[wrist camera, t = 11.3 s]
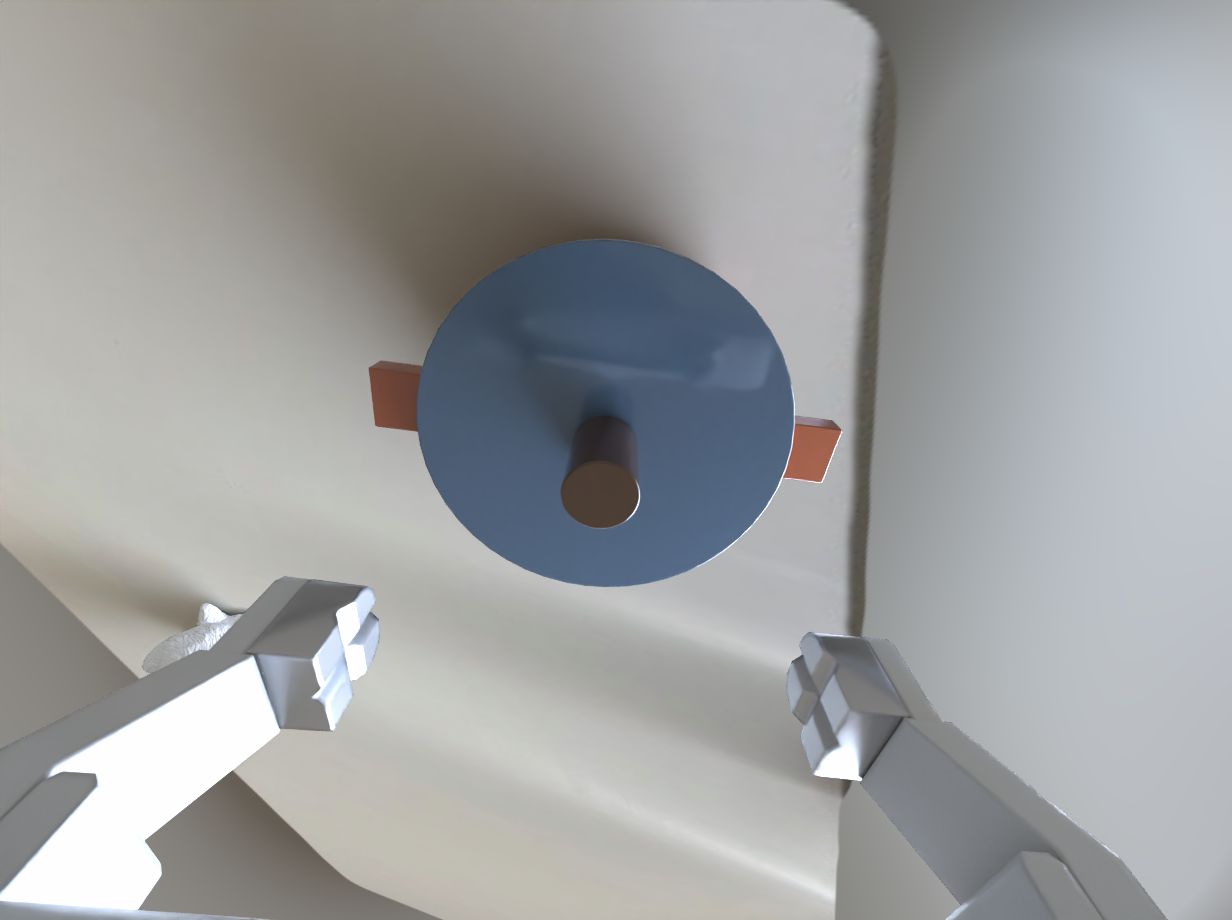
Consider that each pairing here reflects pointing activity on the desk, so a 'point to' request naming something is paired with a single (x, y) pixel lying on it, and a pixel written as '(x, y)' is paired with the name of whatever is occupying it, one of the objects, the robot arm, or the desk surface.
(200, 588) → the desk surface
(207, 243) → the desk surface
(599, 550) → the lid
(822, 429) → the pot
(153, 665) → the koala figurine
